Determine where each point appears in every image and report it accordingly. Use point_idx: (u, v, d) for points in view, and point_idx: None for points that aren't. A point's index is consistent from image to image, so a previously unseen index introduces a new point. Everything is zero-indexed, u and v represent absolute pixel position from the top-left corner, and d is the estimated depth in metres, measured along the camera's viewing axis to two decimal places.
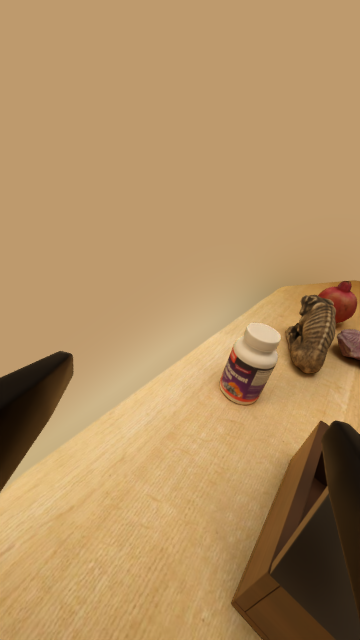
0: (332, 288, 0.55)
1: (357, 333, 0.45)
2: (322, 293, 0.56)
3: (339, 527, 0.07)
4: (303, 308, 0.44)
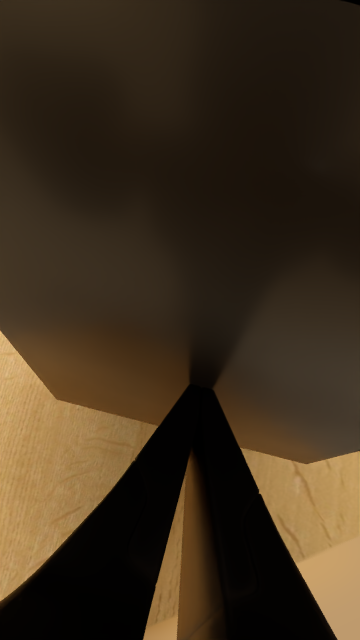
0: None
1: None
2: None
3: (185, 486, 0.07)
4: None
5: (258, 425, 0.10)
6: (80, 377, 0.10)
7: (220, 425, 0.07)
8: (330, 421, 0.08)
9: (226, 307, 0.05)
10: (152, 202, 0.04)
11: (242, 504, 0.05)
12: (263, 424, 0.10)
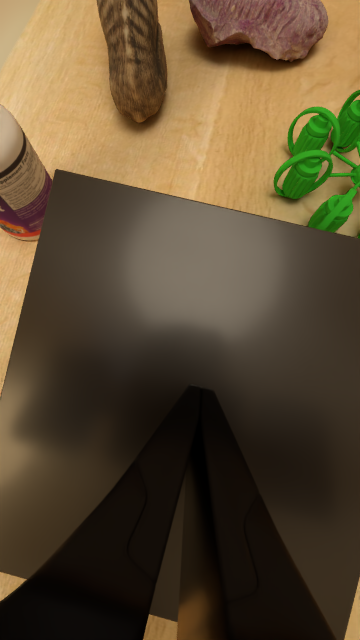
0: None
1: None
2: None
3: (186, 487, 0.07)
4: None
5: None
6: (48, 461, 0.09)
7: (220, 425, 0.07)
8: (310, 475, 0.09)
9: (207, 323, 0.09)
10: (175, 261, 0.09)
11: (242, 504, 0.05)
12: None
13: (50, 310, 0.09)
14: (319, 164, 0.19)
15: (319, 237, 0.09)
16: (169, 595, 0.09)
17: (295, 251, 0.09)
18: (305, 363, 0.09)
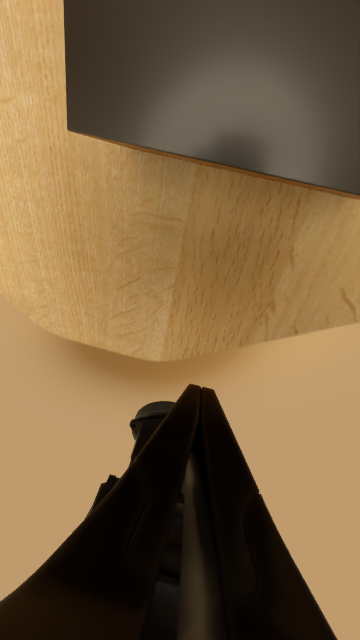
0: None
1: None
2: None
3: (185, 486, 0.07)
4: None
5: None
6: None
7: (220, 425, 0.07)
8: None
9: None
10: None
11: (242, 504, 0.05)
12: None
13: None
14: None
15: None
16: (281, 147, 0.08)
17: None
18: None
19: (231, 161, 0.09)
